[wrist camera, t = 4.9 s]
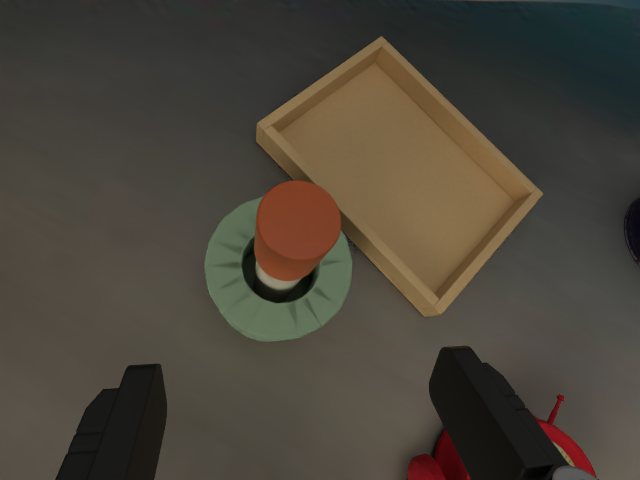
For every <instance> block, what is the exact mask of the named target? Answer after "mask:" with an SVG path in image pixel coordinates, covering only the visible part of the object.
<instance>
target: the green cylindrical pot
mask: <svg viewBox="0 0 640 480" xmlns="http://www.w3.org/2000/svg"><path fill="white" fill-rule="evenodd" d="M263 197H264V196H263ZM263 197H260V198H257V199H254V200H251V201H248V202H245V203H243V204H241V205H240V206H238V207H237V208H236V209H235V210H233V211H232V212H231V213H229V214H228V215H227V216H226V217H224V218H223V220H222V221H221V222H220V224H219V225H218V227H217V228H216V230H215V232H214V233H213V235H212V236H211V238H210V241H209V242H208V247H207V252H206V257H205V262H204V271H205V276H206V282H207V287H208V292H209V294H210V296H211V298H212V299H213V301H214V303H215V304H216V306H217V307H218V309H219V311H220V312H221V314H222V315H223V317H224V318H225V319H226V320H227V322H228V323H229V324H230V325H231V326H232V327H233V328H235V329H236V330H237V331H238V332H240V333H241V334H242V335H244V336H246V337H248V338H251V339H254V340H258V341H262V342H273V341H284V340H291V339H297V338H300V337H303V336H305V335H307V334H309V333H311V332H313V331H315V330H318V329H320V328H321V327H323V326H324V325H325V324H326V323H327V322H328V321H329V320H330V319H331V318H332V317H333V316H334V315H335V314H336V313H337V312H338V311H339V310H340V308H341V307H342V305H343V303H344V300H345V298H346V296H347V294H348V291H349V289H350V285H351V279H352V265H353V262H352V257H351V253H350V250H349V246H348V242H347V239H346V236H345V235H344V234H343V232H342V231H340V235H339V238H338V240H337V242H336V243H335V245H334V246H333V247H332V249H331V250H330V251H329V252H328V253H327V254H326V256H325V257H324V258H323V259H322V260H321V261H320V262H319V264H318V265H317V266H316V267H315V268H314V269H313V270H312V271H311V273H309V274H308V275H307V276H305V277H303V278H302V279H301V280H300V281H299V282H298V284H297V285H296V286H295V287H294V289H293V290H292V291H291V292H290V294H289V295H288V296H287V297H286V298H285V300H284V301H282V302H281V303H275V302H271V301H268V300H265V299H262V298H261V297H260V296H258V295H257V294H256V293H254V289H253V285H254V276H255V267H256V257H255V253H254V242H255V228H256V216H257V210H258V206H259V204H260V202H261V200H262V198H263Z"/></svg>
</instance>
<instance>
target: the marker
mask: <svg viewBox="0 0 640 480" xmlns="http://www.w3.org/2000/svg"><path fill="white" fill-rule="evenodd" d="M340 231H341V215H340V211H339V208H338V206H337V204H336V202H335V201H334V199H333V198H332V197H331V195H330V194H329V193H328V192H327V191H326V190H324V189H323V188H321V187H320V186H318V185H316V184H314V183H311V182H307V181H301V180H293V181H287V182H283V183H281V184H278V185H276V186H275V187H273V188H272V189H270V190H269V191H268V192H267V193H266V194H265V196H264V197H263V198H262V200H261V202H260V204H259V206H258V210H257V216H256V228H255V242H254V253H255V257H256V267H255V276H254V285H253V289H254V293H256V294H257V295H258V296H260V297H261V298H262V299H265V300H268V301H271V302H275V303H281V302H282V301H284V300H285V298H286V297H287V296H288V295H289V294H290V292H291V291H292V290H293V289H294V287H295V286H296V285H297V284H298V282H299V281H300V280H301V279H302V278H303V277H305V276H307V275H308V274H309V273H311V271H312V270H313V269H314V268H315V267H316V266H317V265H318V264H319V262H320V261H321V260H322V259H323V258H324V257H325V256H326V254H327V253H328V252H329V251H330V250H331V249H332V247H333V246H334V245H335V243H336V242H337V240H338V238H339V235H340Z"/></svg>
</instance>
